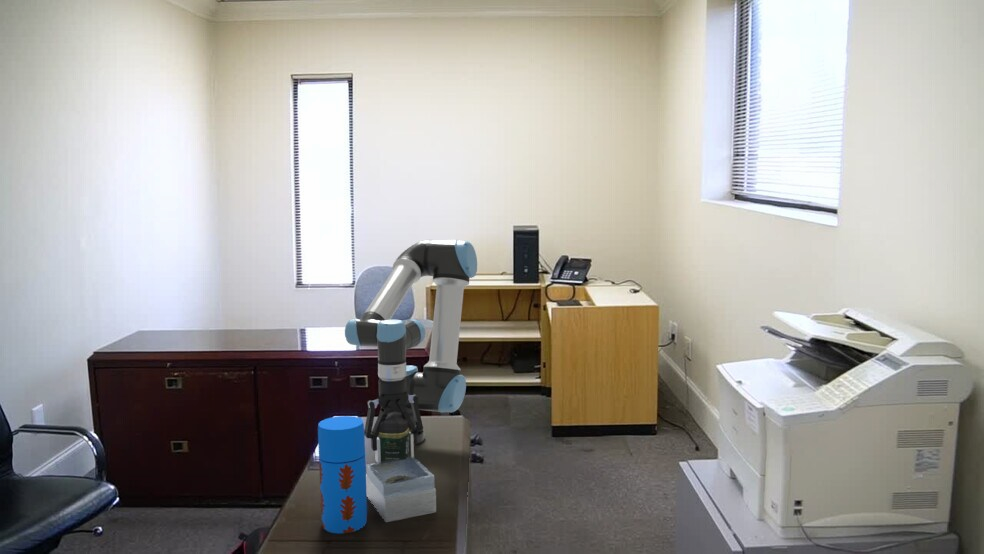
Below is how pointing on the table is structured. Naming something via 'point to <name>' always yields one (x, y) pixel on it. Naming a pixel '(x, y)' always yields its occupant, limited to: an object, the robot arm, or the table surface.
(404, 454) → the coffee jar
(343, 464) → the thermos
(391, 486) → the open grey metal box
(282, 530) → the table surface
